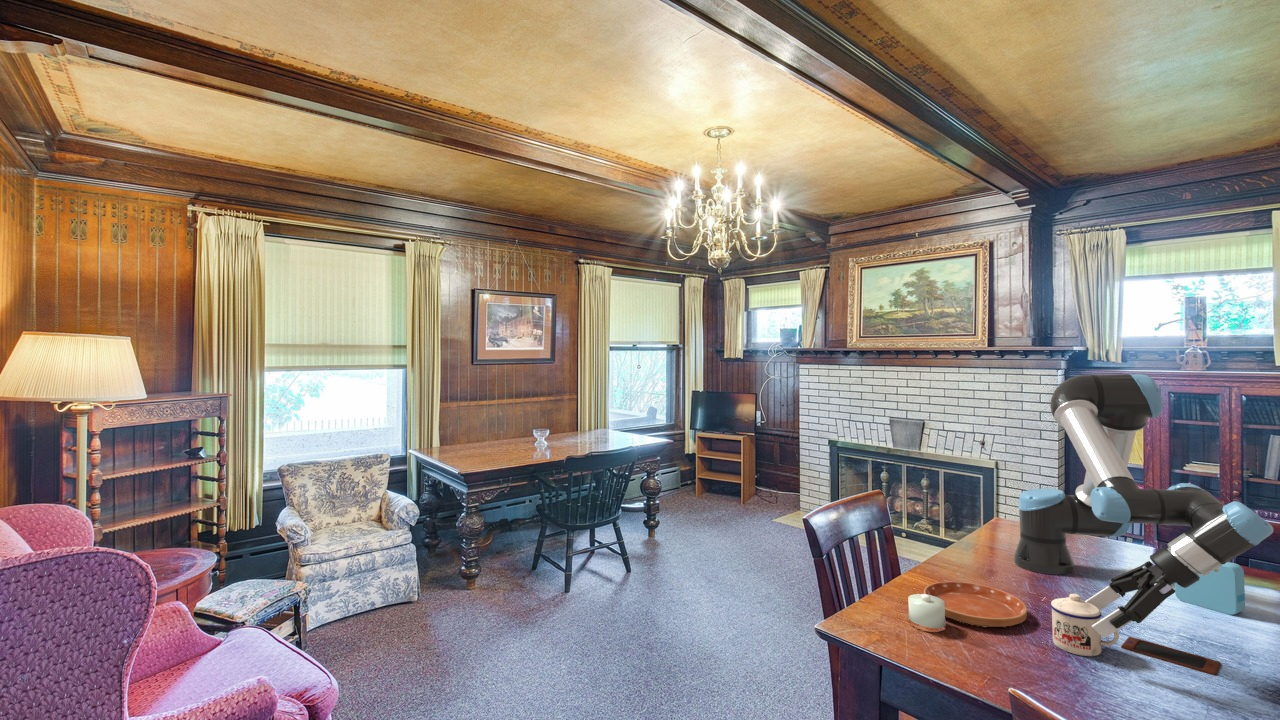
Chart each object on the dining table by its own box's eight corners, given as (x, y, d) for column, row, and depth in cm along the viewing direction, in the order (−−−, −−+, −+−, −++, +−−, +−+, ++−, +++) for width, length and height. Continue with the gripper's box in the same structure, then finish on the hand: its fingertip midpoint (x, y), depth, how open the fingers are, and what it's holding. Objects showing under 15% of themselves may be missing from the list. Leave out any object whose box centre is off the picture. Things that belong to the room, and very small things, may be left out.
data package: (1245, 613, 140) (1244, 565, 141) (1237, 617, 139) (1235, 568, 139) (1183, 596, 151) (1182, 551, 151) (1174, 599, 150) (1173, 553, 150)
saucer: (1018, 601, 152) (1017, 587, 152) (1036, 640, 131) (1035, 624, 131) (922, 589, 161) (922, 576, 161) (925, 623, 140) (925, 609, 140)
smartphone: (1128, 635, 130) (1221, 661, 118) (1128, 639, 130) (1221, 665, 118) (1120, 645, 126) (1215, 673, 114) (1120, 649, 126) (1216, 678, 114)
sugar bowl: (911, 615, 145) (910, 586, 145) (946, 622, 140) (946, 593, 140) (906, 627, 138) (905, 598, 138) (943, 635, 134) (942, 605, 134)
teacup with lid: (1046, 646, 127) (1044, 594, 127) (1058, 633, 133) (1056, 583, 133) (1114, 667, 118) (1112, 611, 118) (1124, 652, 124) (1122, 599, 124)
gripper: (1222, 598, 104) (1119, 660, 112) (1185, 558, 125) (1101, 612, 133) (1181, 565, 107) (1084, 627, 115) (1152, 530, 128) (1071, 585, 136)
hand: (1093, 619), depth 124 cm, fingers open, 13 cm apart
